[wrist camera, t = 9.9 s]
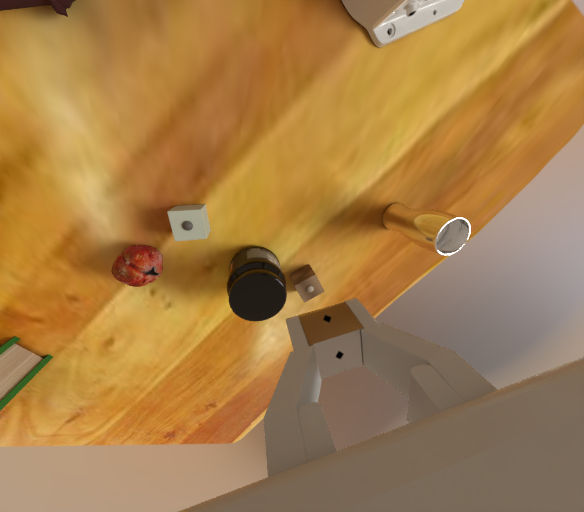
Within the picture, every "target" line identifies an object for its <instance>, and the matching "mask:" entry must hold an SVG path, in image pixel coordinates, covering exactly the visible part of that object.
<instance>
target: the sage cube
mask: <svg viewBox="0 0 584 512" xmlns="http://www.w3.org/2000/svg"><path fill="white" fill-rule="evenodd" d="M167 212H168V216H169V220H170V224H171V228H172V231H173V235H174V239H175V241H185V240H197V239H207V237H208V235H209V232H210V225H209V220H208V214H207V209H206V204H199V205H182V206H175V207H174V208H172V209H170V210H169V211H167Z"/></svg>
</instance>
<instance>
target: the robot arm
mask: <svg viewBox="0 0 584 512" xmlns="http://www.w3.org/2000/svg"><path fill="white" fill-rule="evenodd" d="M342 2H343V4H344V6H345V8H346V9H347V11H348V12H349V14H350V15H351V16H352V17H353V18H354V19H355V20H356V21H357V22H358V23H360V24H361V25H362V26H363V27H364V28H365V29H366V30H367V31H368V33H369V35H370V37H371V39H372V41H373V42H374V44H375V45H376V46H377V47H383V46H385V45H387V44H389V43H392V42H394V41H396V40H398V39H400V38H402V37H405V36H407V35H409V34H411V33H413V32H416V31H418V30H420V29H422V28H424V27H427V26H429V25H431V24H433V23H435V22H437V21H440V20H442V19H444V18H446V17H448V16H450V15H452V14H454V13H455V12H456V11H458V10H459V9H460V8H461V6H462V4H463V2H464V0H342ZM387 31H389V33H390V34H389V35H388V33H387ZM286 323H287V327H288V330H289V334H290V338H291V342H292V345H293V349H294V351H293V352H290V354H289V357H288V359H287V362H286V364H285V367H284V369H283V372H282V374H281V377H280V379H279V382H278V384H277V387H276V389H275V392H274V394H273V396H272V399H271V401H270V404H269V406H268V409H267V411H266V414H265V416H264V427H265V428H264V429H265V442H266V455H267V469H268V478H265V479H263V480H260V481H258V482H255V483H252V484H250V485H247V486H245V487H242V488H239V489H237V490H234V491H231V492H229V493H226V494H224V495H221V496H218V497H216V498H213V499H211V500H208V501H205V502H202V503H200V504H197V505H195V506H192V507H190V508H187V509H184V510H182V511H179V512H584V357H582V358H579V359H577V360H574V361H572V362H569V363H566V364H564V365H561V366H559V367H556V368H553V369H551V370H548V371H546V372H543V373H540V374H538V375H535V376H532V377H530V378H527V379H525V380H522V381H519V382H517V383H514V384H511V385H509V386H506V387H504V388H501V389H498V390H497V389H496V388H495V387H494V386H493V385H492V384H491V383H489V382H488V381H487V380H486V379H485V378H484V377H483V376H482V375H481V374H479V373H478V372H477V371H476V370H475V369H474V368H473V367H472V366H470V365H469V364H468V363H467V362H466V361H465V360H464V359H463V358H461V357H460V356H459V355H458V354H457V353H456V352H454V351H452V350H450V349H447V348H445V347H442V346H440V345H437V344H434V343H432V342H429V341H427V340H424V339H422V338H419V337H417V336H414V335H412V334H409V333H407V332H404V331H402V330H399V329H397V328H394V327H392V326H389V325H387V324H384V323H380V324H378V323H377V321H376V320H375V319H374V318H373V317H372V316H371V314H370V313H369V312H368V311H367V310H366V308H365V307H364V306H363V305H362V304H361V303H360V301H359V300H358V299H357V298H353V299H350V300H347V301H344V302H341V303H338V304H335V305H332V306H328V307H325V308H322V309H319V310H315V311H311V312H308V313H304V314H301V315H298V316H294V317H291V318H287V319H286ZM362 365H364V367H366V368H367V369H368V370H370V371H371V372H372V373H374V374H375V375H377V376H378V377H380V378H381V379H382V380H384V381H385V382H387V383H388V384H389V385H391V386H392V387H394V388H395V389H397V390H398V391H399V392H401V393H402V394H404V395H405V396H407V397H408V398H409V401H408V414H407V420H408V422H409V424H407V425H404V426H401V427H399V428H396V429H393V430H391V431H389V432H386V433H383V434H380V435H378V436H375V437H372V438H370V439H367V440H365V441H362V442H360V443H357V444H354V445H352V446H349V447H347V448H344V449H341V450H339V451H336V448H335V446H334V442H333V439H332V436H331V433H330V430H329V427H328V425H327V421H326V418H325V415H324V412H323V409H322V406H321V405H320V404H318V398H319V392H320V387H321V380H322V379H324V378H326V377H329V376H332V375H335V374H337V373H340V372H343V371H346V370H349V369H353V368H356V367H359V366H362Z"/></svg>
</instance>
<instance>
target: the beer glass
mask: <svg viewBox="0 0 584 512" xmlns="http://www.w3.org/2000/svg"><path fill="white" fill-rule="evenodd" d="M382 222H383V225H384V226H385V227H386V228H387V229H389V230H394V231H398V232H400V233H401V234H403V235H404V236H405V237H406V238H408V239H409V240H410V241H412V242H413V243H415V244H416V245H418V246H420V247H422V248H425V249H427V250H430V251H432V252H435V253H438V254H440V255H443V256H448V255H452V254H454V253H456V252H457V251H459V250H460V249H461V248H462V247H463V246H464V245H465V243H466V242H467V240H468V238H469V236H470V231H471V227H470V223H469V221H468V220H467V219H465V218H462V217H459V216H456V215H453V214H450V213H447V212H443V211H439V210H434V209H415V208H409V207H407V206H405V205H404V204H402V203H394V204H392V205H390V206H389V207H388V208H387V209H386V210H385V212H384V214H383V217H382Z"/></svg>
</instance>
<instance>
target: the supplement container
mask: <svg viewBox="0 0 584 512" xmlns="http://www.w3.org/2000/svg"><path fill="white" fill-rule="evenodd" d="M227 293H228V296H229V304H230V307H231V309H232V310H233V312H234V313H235V314H236V315H237V316H239V317H240V318H242V319H245V320H249V321H263V320H266V319H269V318H271V317H273V316H275V315H276V314H277V313H278V312H279V311H280V310H281V309H282V308H283V306H284V304H285V302H286V297H287V293H286V280H285V277H284V274H283V272H282V270H281V268H280V264H279V261H278V259H277V257H276V255H275V254H274V253H273V252H272V251H270V250H269V249H267V248H264V247H260V246H251V247H247V248H244V249H242V250H241V251H239V252H238V253H237V254H236V255H235V256H234V257H233V259H232V261H231V264H230V272H229V279H228V282H227Z"/></svg>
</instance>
